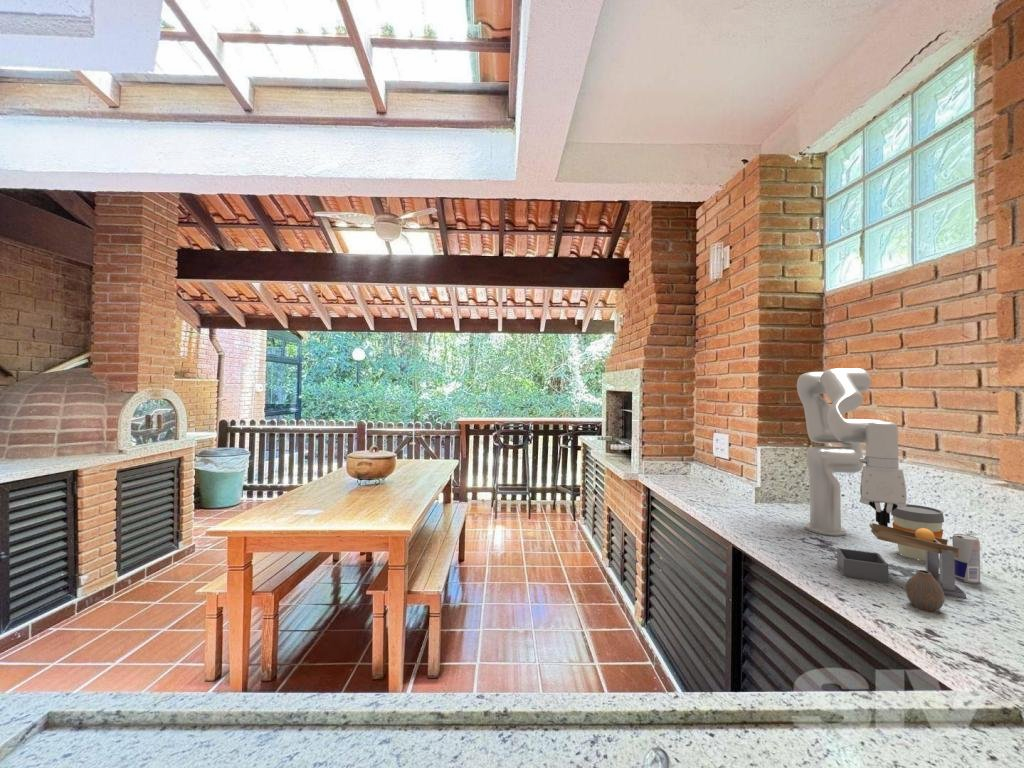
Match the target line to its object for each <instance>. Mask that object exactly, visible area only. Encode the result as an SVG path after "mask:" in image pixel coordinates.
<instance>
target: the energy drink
mask: <svg viewBox="0 0 1024 768" xmlns="http://www.w3.org/2000/svg"><path fill="white" fill-rule="evenodd" d="M952 546H953V547H957V548H959V549H958V555H957V557H954V560H955V580H957V581H960V582H963V583H967V584H974V585H975V584H979V583H981V549H980V548H981V542H980V540H979V538H978V536H977V537H976V536H974V535H969V534H963V533H953V535H952Z"/></svg>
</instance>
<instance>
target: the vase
mask: <svg viewBox="0 0 1024 768" xmlns="http://www.w3.org/2000/svg"><path fill="white" fill-rule="evenodd" d="M905 594H906V596H907V599H908V600H909V602H910V603H911V604H912V605H913V606H914V607H916V608H917V609H919V610H921V611H927V612H936V611H938V610H940V609H941V608H942V607H943V606H944V603H945V595H944V592H943V589H942V587H941V586H940V584H939V583H938V582H937V581H936V580H935V579H934V577H933V576H932V574H931V573H930V572H929V571H926V569H918V571H917V573H916V572H915V573H914V575H912V576H910V578H908V579H907V581H906V585H905Z"/></svg>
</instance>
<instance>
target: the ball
mask: <svg viewBox="0 0 1024 768" xmlns="http://www.w3.org/2000/svg"><path fill="white" fill-rule="evenodd" d="M915 537H916V538H917V539H922V540H926V541H931V542H933V541H934V539H935V536H934V534H933V532H932V531H930V530H928V529H926V528H920V529H918V530H916V532H915Z"/></svg>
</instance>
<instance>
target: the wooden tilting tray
mask: <svg viewBox="0 0 1024 768" xmlns="http://www.w3.org/2000/svg"><path fill="white" fill-rule="evenodd" d="M869 527H870V528H871V530H870V532H871V533H872V534H873V535H874V536H875V538H876V539H877V540H880V541H884V542H887V543H888V542H889V543H893V544H897V545H898V544H901V545H905V546H909V547H913V548H918V549H922V550H926V551H931V552H935V553H939V555H940V549H943V550H951V551H953V552H954V557H957V555H958V549H959V548H957V547H953V545H948V541H949V540H948V539H945V538H943V537H942V538H937V537H935V539H934V541H933V542H931V541H926V540H922V539H917V538H916V537H915V532H910V531H906V530H901V529H896V528H893V526H891V527H890V526H888V527H887V526H883V525H879V524H877V523H874V522H873V523H872V522H869Z"/></svg>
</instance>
